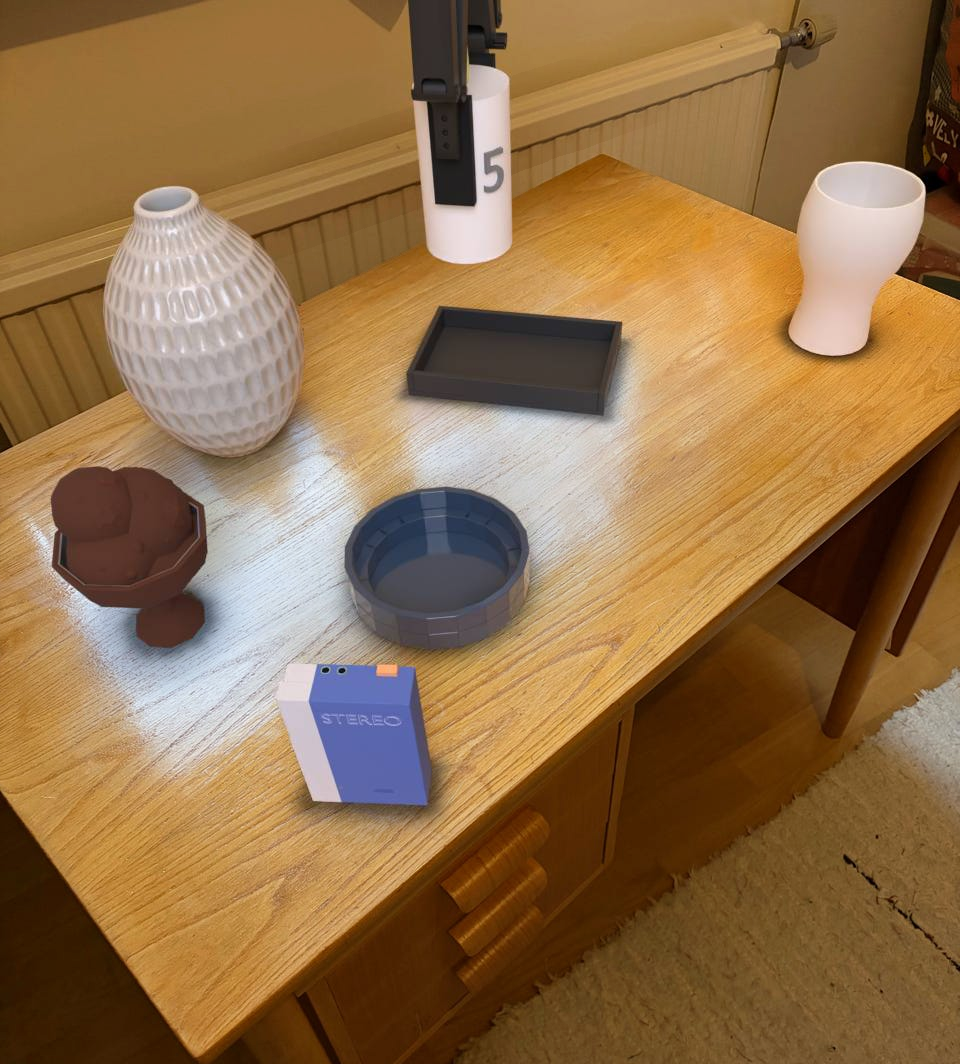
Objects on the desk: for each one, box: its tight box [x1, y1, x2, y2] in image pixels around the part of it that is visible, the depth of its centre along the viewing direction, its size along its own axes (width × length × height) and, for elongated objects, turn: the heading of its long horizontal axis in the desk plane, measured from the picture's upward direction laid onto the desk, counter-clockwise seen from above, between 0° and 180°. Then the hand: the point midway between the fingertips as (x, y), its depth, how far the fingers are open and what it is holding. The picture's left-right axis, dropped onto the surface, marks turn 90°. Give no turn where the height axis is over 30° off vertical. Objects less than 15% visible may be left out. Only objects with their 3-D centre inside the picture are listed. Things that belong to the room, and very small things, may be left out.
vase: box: [102, 185, 306, 459], centre depth 78 cm, size 16×16×22 cm
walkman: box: [275, 662, 433, 806], centre depth 57 cm, size 8×3×12 cm, turn 86°
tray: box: [406, 305, 623, 416], centre depth 90 cm, size 19×12×2 cm, turn 77°
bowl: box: [343, 486, 531, 651], centre depth 71 cm, size 14×14×4 cm
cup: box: [787, 161, 927, 357], centre depth 87 cm, size 11×11×15 cm
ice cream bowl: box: [50, 465, 209, 649], centre depth 66 cm, size 11×11×15 cm
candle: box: [411, 47, 513, 265], centre depth 60 cm, size 6×6×15 cm
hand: (467, 178), depth 63 cm, fingers closed on candle, 6 cm apart
